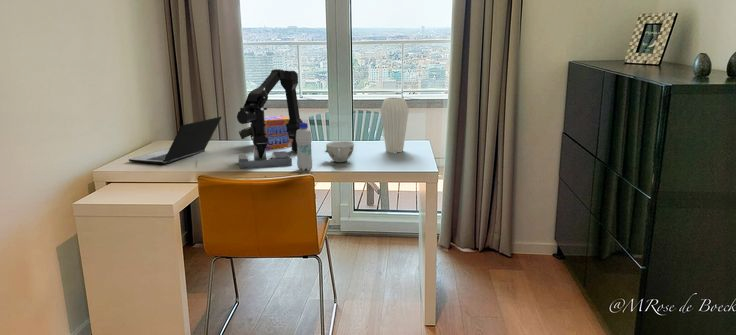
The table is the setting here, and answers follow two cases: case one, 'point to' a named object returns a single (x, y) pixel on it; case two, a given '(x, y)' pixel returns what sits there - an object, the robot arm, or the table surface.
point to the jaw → (280, 155)
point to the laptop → (184, 143)
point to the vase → (394, 123)
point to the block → (256, 155)
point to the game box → (277, 132)
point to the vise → (262, 162)
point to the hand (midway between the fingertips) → (259, 156)
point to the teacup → (340, 150)
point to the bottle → (304, 147)
